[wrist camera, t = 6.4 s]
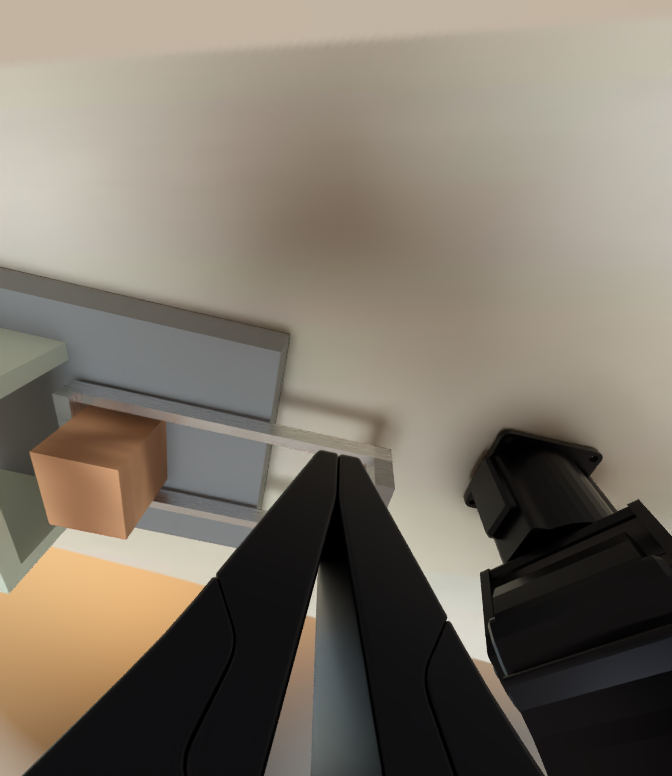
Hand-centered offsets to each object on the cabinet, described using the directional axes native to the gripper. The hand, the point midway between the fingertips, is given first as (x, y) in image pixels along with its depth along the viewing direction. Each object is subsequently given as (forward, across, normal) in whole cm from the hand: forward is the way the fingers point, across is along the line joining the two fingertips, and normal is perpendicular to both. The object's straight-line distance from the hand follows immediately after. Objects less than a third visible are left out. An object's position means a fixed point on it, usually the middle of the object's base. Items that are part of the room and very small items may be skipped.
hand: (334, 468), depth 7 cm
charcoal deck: (+13, +16, +11) cm, 23 cm away
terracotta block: (+10, +11, +11) cm, 18 cm away
